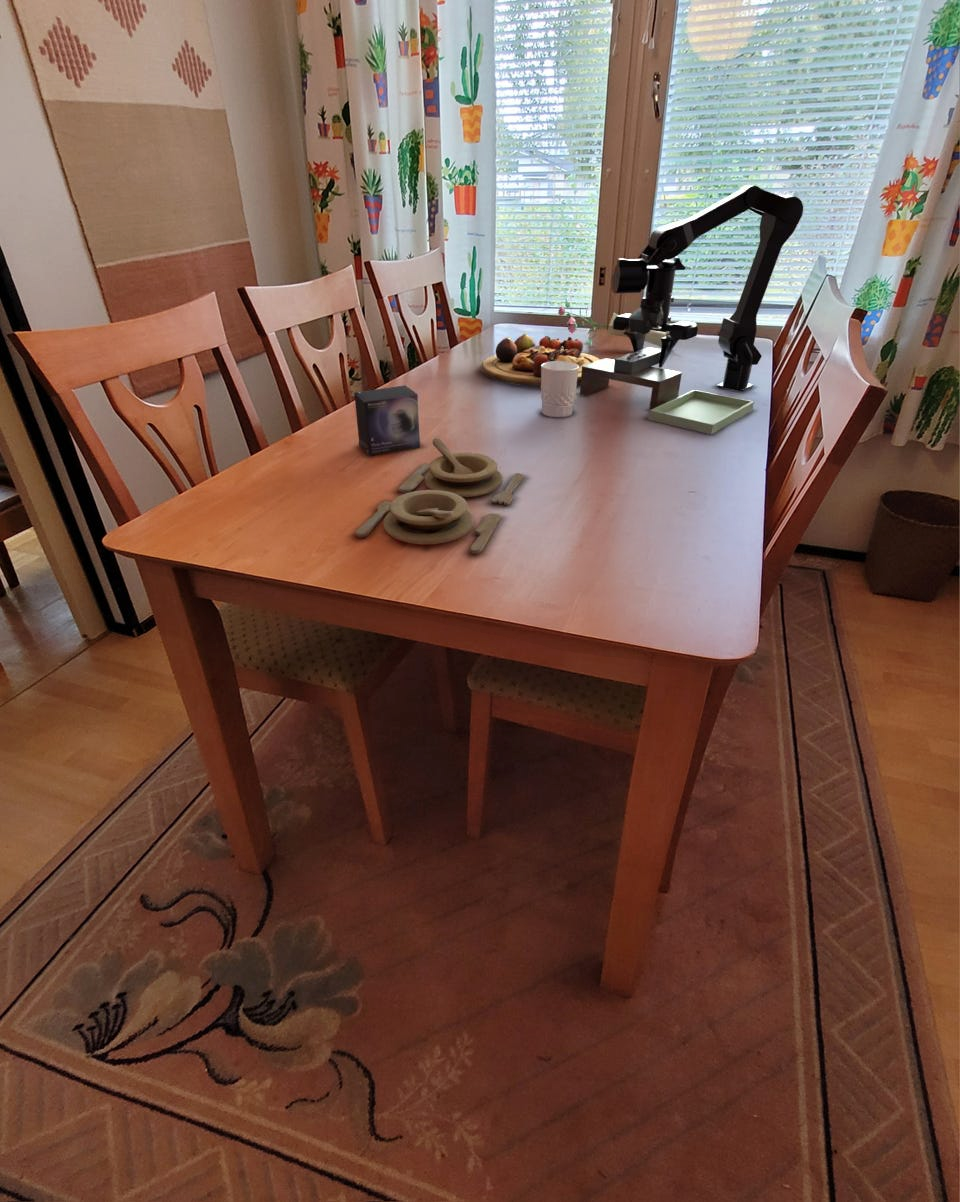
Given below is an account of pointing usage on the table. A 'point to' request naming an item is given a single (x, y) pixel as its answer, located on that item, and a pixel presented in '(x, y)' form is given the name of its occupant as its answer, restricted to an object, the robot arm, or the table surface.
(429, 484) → the tableware set
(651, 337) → the flower vase
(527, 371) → the wooden plate
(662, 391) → the shelf
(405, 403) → the small box
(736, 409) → the tray
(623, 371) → the dark gray box
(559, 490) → the table surface
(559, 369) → the white cup
